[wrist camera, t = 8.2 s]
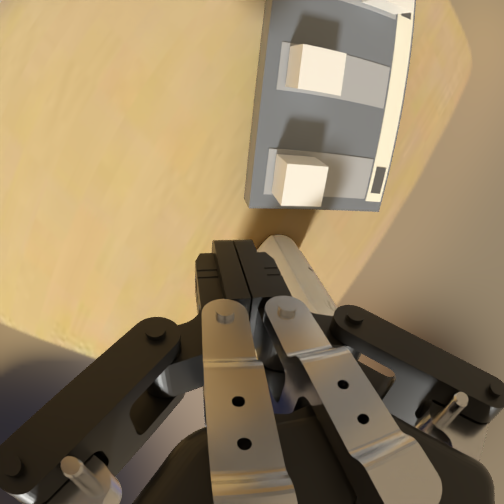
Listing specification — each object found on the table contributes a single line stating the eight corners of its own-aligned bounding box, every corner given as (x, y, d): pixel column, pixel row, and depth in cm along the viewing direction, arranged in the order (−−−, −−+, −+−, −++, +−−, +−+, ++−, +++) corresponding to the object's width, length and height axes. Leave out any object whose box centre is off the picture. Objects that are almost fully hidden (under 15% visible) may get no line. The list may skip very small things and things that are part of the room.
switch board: (272, -57, 15) (280, -67, 13) (403, -16, 18) (417, -19, 16) (244, 198, 26) (249, 208, 24) (367, 202, 29) (379, 212, 27)
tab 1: (276, 153, 22) (287, 163, 20) (314, 156, 23) (328, 166, 21) (271, 192, 24) (280, 205, 22) (308, 193, 24) (320, 206, 22)
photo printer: (270, 224, 28) (324, 323, 18) (305, 244, 30) (367, 338, 20) (210, 306, 32) (230, 413, 21) (245, 319, 34) (275, 419, 23)
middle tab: (290, 46, 18) (303, 43, 16) (330, 54, 19) (346, 53, 17) (285, 86, 20) (297, 88, 18) (324, 92, 20) (340, 95, 18)
